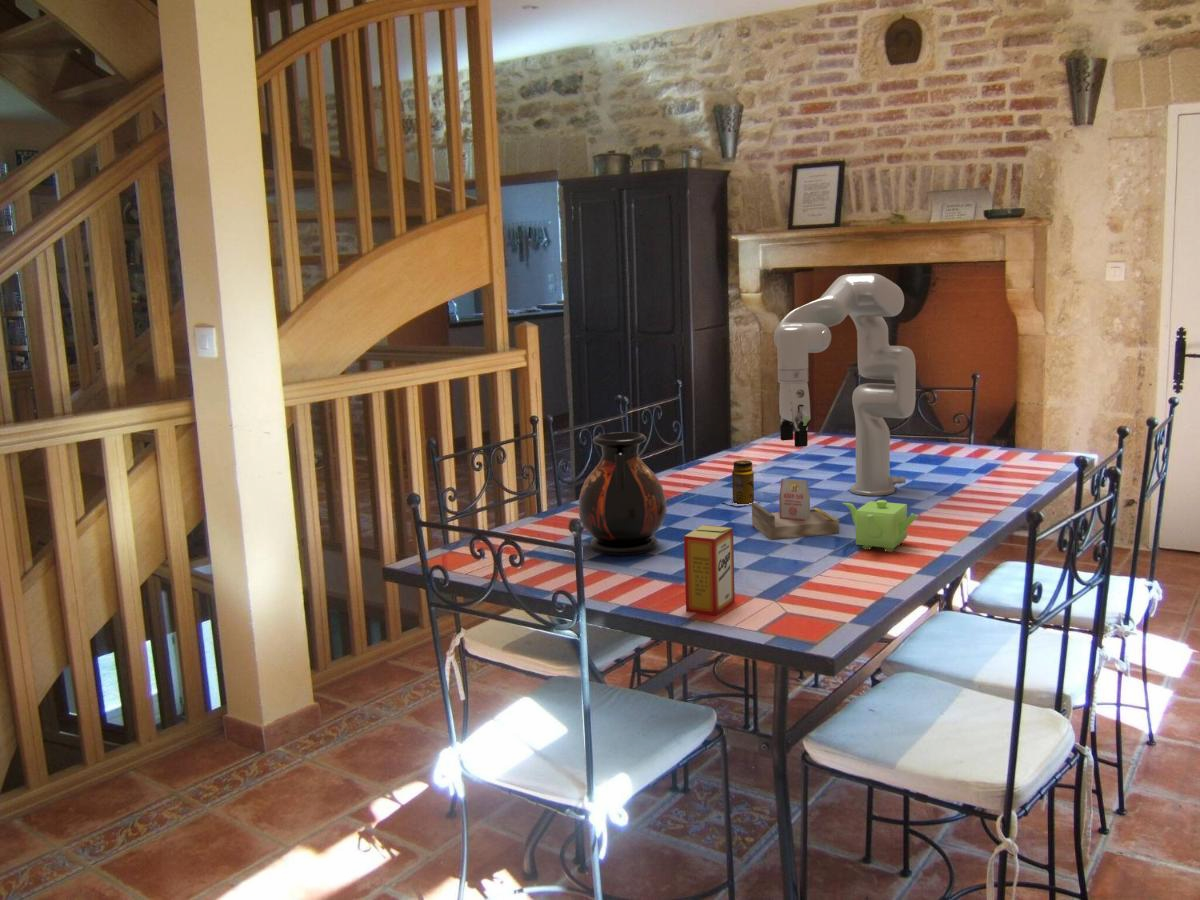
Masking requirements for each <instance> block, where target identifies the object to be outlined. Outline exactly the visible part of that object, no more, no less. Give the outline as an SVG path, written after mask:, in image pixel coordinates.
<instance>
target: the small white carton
mask: <svg viewBox="0 0 1200 900" xmlns="http://www.w3.org/2000/svg"><path fill="white" fill-rule="evenodd" d="M808 483H809V482H808V480H804V479H792V478H781V483H780V490H779V501H778V502H779V512H780V518H781V519H791V520H801V521H805V520H807V519H808V518H810V510H811V494H810V488H809V484H808Z"/></svg>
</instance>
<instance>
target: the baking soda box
mask: <svg viewBox="0 0 1200 900" xmlns="http://www.w3.org/2000/svg"><path fill="white" fill-rule="evenodd" d="M734 549H735V548H734V527H732V526H731V527H730V526H721V525H720V526H719V525H709V524H701V526H699V527H697V528H695V529H693V530H692V531H690V532H688V533H687V534H685V535H684V536H683V555H684V556H683V557H684V558H683V559H684V584H685V585H684V587H685V593H684V594H685V612H688V613H695V614H701V615H708V616H718V615H719V614H721V612H723V611H724V610H725V609H727V608H728V607H729V606H731V605H732V604H733V603H735V599H736V598H735V560H734V559H735V558H734V557H735V555H734V554H735V553H734V551H735V550H734Z"/></svg>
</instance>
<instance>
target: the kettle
mask: <svg viewBox="0 0 1200 900" xmlns="http://www.w3.org/2000/svg"><path fill="white" fill-rule="evenodd" d="M842 505H844V506H846V507H847V508H848V510H849V511H850V513H851V514H850V515H851V517H852V521H853V525H855V545H859V546H862V547H861V549H862V548H864V549H863V550H866V549H867V550H870V549H869V548H871V549H872V548H873V547H875V548H876V547H877V548H883V549H884V550H886V551H894V552H895V548H896V547H898V546H897V545H900V544H901V543H902V542H903V541H904V540H906V539H907V537H908V536H907V535H908V532H907V531H908V528H909V527H910V526H911V525H912V524H913V522H914V521H915V520H916V519H917V518H918V514H915V513H912V512H911V514H910V515H909V516H908V504H906V503H896V502H888V501H887V500H885V499H877V500H876V501H872V500H870V501H868V502H865V504H863V505H862V506H861V507H859V508H858V509H857V508H856V506H855V505H854V504H852V503H849V502H842ZM865 548H866V549H865ZM886 551H885V552H886Z"/></svg>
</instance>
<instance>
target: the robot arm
mask: <svg viewBox="0 0 1200 900" xmlns="http://www.w3.org/2000/svg"><path fill="white" fill-rule="evenodd" d="M904 305H905V295H904V292H903V290H902V288H901V287H900V286H898V284H896V283H895V282H893V281H892V280H891V279H889V278H886V277H885V276H883V275H881V274H878V273H849V274H848V273H846V274H842V275H840V276H839V277H837V278H836V279H835V280H834V281H833V282H832V284H831V285H830V286H829V287H828V288H827V289H826V291H825V292H824V293H823V294H822V295H821V296H820V297H819V298H816V299H815V300H813V301H810V302H808V303H806V304H804V305H802V306H799V307H797V308H795V309H793V310H791V311H790V312H788V314H787V313H786V315H785V316H784V317H783V318H782V319H781V321H780V322H779V323H778V324H777V326H776V329H775V331H774V335H773V341H774V345H775V347H776V348H777V351H776V352H777V353H776V355H777V382H778V383H779V394H778V395H779V396H778V397H779V398H778V400H779V401H778V409H779V419H780V420H779V424H780V427H779V428H780V429H779V431H780V440H781V441H784V442H785V441H793V440H794V447H795V448H802V447H803V448H804V447H808V446H809V445H808V441H809V440H808V430H809V427H808V426H809V421H810V420H811V401H810V390H809V384H808V382H809V354H811V353H812V354H813V353H814V354H815V353H816V354H817V353H821V352H824V351H825V350H826V349H828V347H829V346H830V345H831V341H832V333H831V330H830V329H829V328H831V327H833V326H837V325H839V324H841V323H842V322H843V321H844V320H845V319H846V317H847V316H849V317H850V319H851V320H852V322H853V323H854V325H855V329H856V338H857V369H858V374H859V375H860V376H861V377H862V378H865V379H871V380H890V381H891V380H892V381H894V384H893V383H880V382H879V383H877V382H876V383H873V382H870V383H869V382H868V383H867V382H866V383H862V384H859V385H858V386H857V387H855V389H854V390H853V392H852V397H851V398H852V399H851V401H852V408H853V412H854V413H853V414H854V421H855V484H852V485H850V487H849V488H850V489H849V490H850V492H851V493H852V494H856V495H859V496H868V497H869V496H870V497H871V496H872V497H875V496H877V497H879V496H887V495H891V494H894V493H895V492H896V487H895V485H896V484H897V485H898V484H899V485H901V484H906V477H905V476H899V477H897V476H893V475H890V467H891V465H890V464H891V463H890V462H891V461H890V460H891V459H890V458H891V456H890V452H891V450H890V447H891V439H890V438H891V433H890V428H889V426H888V424H887V421H885V419H884V418H887V419H888V418H889V419H891V418H892V419H907V418H909V417H911V416H912V415H913V413H914V411H915V407H916V392H917V391H916V385H917V383H916V382H917V381H916V380H917V379H916V366H917V365H916V363H917V362H916V358H915V354H914V352H913V350H912V349H911V348H910V347H908V346H902V345H890V342H889V327H888V324H887V322H886V321H885V317H887V318H888V317H889V318H890V317H896V316H898V315H899V314H900V313H902V310H903V309H904Z"/></svg>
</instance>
